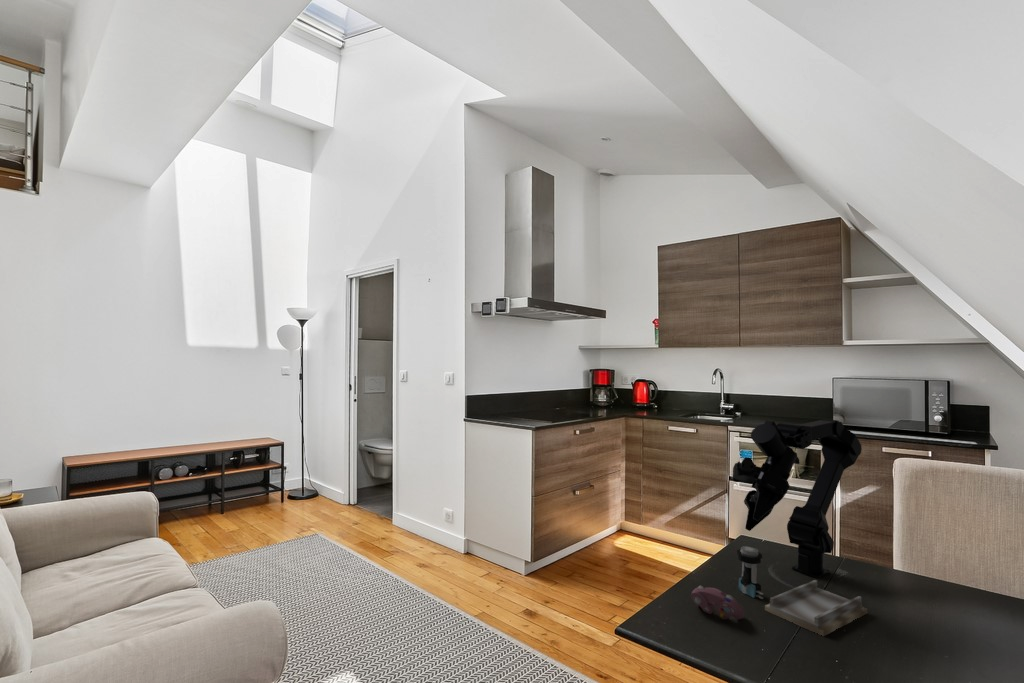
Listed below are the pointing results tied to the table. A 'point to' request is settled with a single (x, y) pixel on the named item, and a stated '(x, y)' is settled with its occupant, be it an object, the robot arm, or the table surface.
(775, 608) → the rail board
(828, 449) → the robot arm
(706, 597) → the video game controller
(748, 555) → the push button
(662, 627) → the table surface
